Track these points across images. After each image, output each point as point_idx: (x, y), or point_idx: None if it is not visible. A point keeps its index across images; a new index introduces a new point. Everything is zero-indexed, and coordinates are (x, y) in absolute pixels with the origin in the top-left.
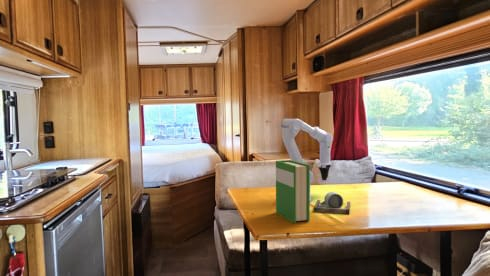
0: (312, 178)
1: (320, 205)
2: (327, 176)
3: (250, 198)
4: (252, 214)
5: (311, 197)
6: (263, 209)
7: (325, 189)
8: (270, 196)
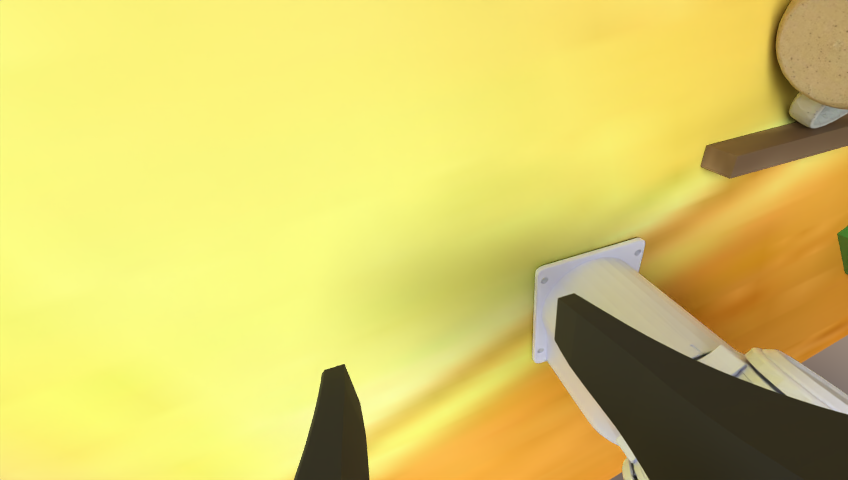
0: (807, 376)
1: (821, 112)
2: (345, 385)
3: (594, 460)
4: (841, 325)
5: (546, 271)
6: (779, 335)
7: (49, 329)
8: (537, 440)
